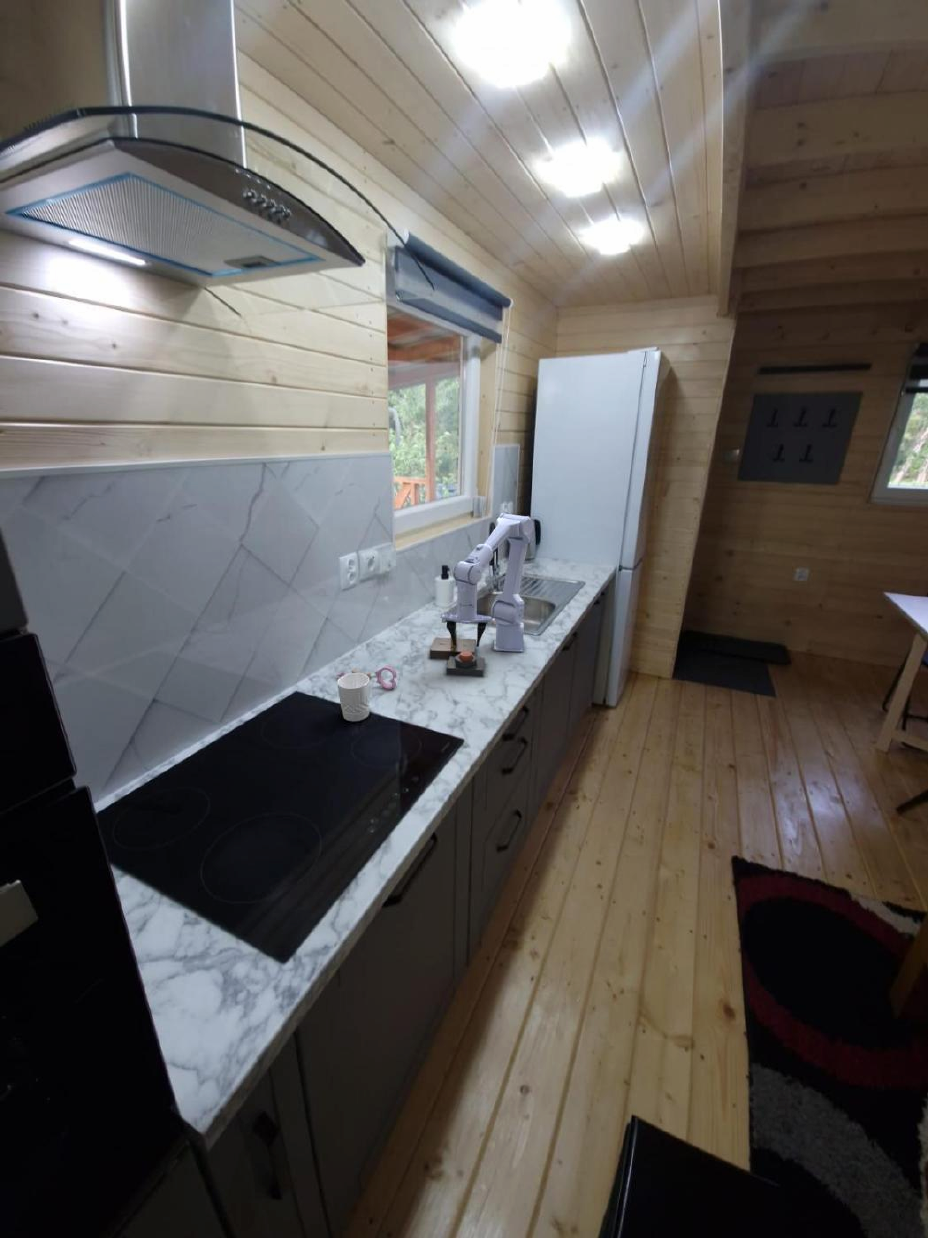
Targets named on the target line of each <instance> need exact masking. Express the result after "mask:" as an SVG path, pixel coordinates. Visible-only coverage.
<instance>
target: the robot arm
mask: <svg viewBox="0 0 928 1238" xmlns="http://www.w3.org/2000/svg"><path fill="white" fill-rule="evenodd" d="M533 530H534V523H533V521H532V519H531V517H530V516H529V515H527V516H526V515H525V516H524V515H517V514H511V513H507V512H502V513H501V514H499V516H498V518H497V519H496V521H495V528H494V529H493V531H492V532H491V534H490V535H489V536H488V538H487V539H486V540H485V542H484V543H479V544H477V545H476V546H475V547H474V549H473V550H472V551H471V552H470V554H469V555H468V556H467V557H466V558H465V559H464V560H461V561H459V562H457V563H456V565H455V566H454V568H453V572H452V577H453V579H454V581H455V587H456V613H449V614H447V613H445V614H442V615H441V623H443V624H446V629H447V631H448V633H449V635H450V638H451V637H452V641H453V646H456V631H457V624H458V623H460V624H461V625H469V624H477V627H476V632H477V634H476V648H479V647H480V643H481V640H482V637H483V635H484V632H485V631H486V629H487V626H492V618H494V619H493V620H494V622H495V639H494V641H493V642H494V643H493V651H498V652H499V651H500V652H518V653H522V652H523V649H524V644H525V638H524V633H525V623H524V622H523V620H524V617H525V601H524V600H523V598H522V597H521V596H520V594H519V593H520V588H521V583H522V577H523V571H524V565H525V561H526V555H527V550H528V546H529V545H528V544H530V543H531V540H532V535H533V532H534V531H533ZM506 540H507V541H508V543H509V544H510V548H509V554H508V560H507V565H506V571H505V577H504V581H503V588H502V592H501V593H499V594H498V595H496V596H495V597H494V601H493V604H492V606H491V608H490V613H491V616H489V615H482V614H477V613H478V611H477V609H478V608H477V607H478V583H479V582H480V581H481V580H482V576H483V573H484V571H485V568H486V567H487V566H488V564H489V563H490V562H491V561H492V560H493V558H494V551H495V550H497V548H498V547H500V545H501V544H503V542H505V541H506Z"/></svg>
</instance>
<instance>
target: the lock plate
mask: <svg viewBox="0 0 928 1238" xmlns="http://www.w3.org/2000/svg"><path fill="white" fill-rule="evenodd" d="M476 644H477V638H476V639H475V638H458V637H457V643H456V647H451V637H438V636H436V637H435V636H434V638H433V641H432V644H431V647H430V650H429V659H434V660H435V659H436V660H449V657H450V656H453V657H456V656H457V655H458V654H460V653H461V652H463V651H469V652H471V653H472V654H474V655H475V656H476V650H477V647H476Z"/></svg>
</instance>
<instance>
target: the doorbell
mask: <svg viewBox="0 0 928 1238" xmlns="http://www.w3.org/2000/svg"><path fill="white" fill-rule="evenodd" d="M485 662H486V661H485V657H478V656H476V654H475V655H474V654H472V660H469V661H463V660H461V659H460V654H458V655H457V656H456V657H453V656H450V657H449V659H448V662H447V664H446V675H448V676H449V675H450V676H464V677H465V676H467V677H484V671H485V665H486V663H485Z"/></svg>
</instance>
